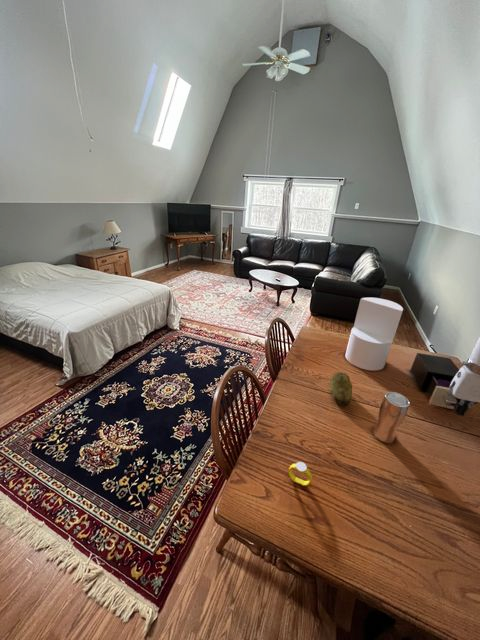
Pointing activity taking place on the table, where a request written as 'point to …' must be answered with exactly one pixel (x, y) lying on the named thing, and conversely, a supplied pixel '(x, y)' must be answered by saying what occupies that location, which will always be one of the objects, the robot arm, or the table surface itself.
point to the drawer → (439, 392)
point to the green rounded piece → (341, 388)
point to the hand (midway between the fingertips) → (458, 412)
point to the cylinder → (373, 333)
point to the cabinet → (431, 368)
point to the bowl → (444, 383)
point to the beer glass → (390, 416)
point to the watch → (300, 468)
